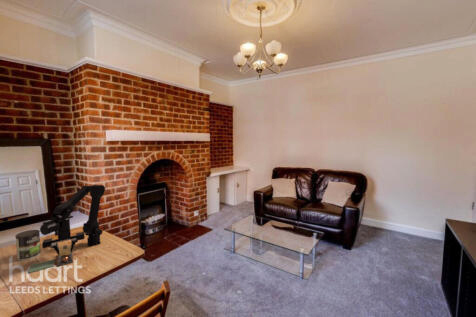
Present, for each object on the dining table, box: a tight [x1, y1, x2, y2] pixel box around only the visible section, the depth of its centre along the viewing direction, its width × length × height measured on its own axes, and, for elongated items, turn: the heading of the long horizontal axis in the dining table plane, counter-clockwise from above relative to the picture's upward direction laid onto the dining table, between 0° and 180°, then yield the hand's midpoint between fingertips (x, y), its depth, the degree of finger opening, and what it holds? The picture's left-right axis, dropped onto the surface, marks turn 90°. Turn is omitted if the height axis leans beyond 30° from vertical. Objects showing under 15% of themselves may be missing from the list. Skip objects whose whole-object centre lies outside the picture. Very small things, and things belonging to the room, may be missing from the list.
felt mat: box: [28, 259, 55, 274], centre depth 118 cm, size 10×8×1 cm
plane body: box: [57, 251, 74, 267], centre depth 125 cm, size 15×6×5 cm, turn 38°
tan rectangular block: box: [58, 244, 71, 257], centre depth 124 cm, size 7×5×3 cm
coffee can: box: [14, 229, 42, 262], centre depth 128 cm, size 10×10×14 cm
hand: (65, 253), depth 125 cm, fingers closed on tan rectangular block, 5 cm apart
